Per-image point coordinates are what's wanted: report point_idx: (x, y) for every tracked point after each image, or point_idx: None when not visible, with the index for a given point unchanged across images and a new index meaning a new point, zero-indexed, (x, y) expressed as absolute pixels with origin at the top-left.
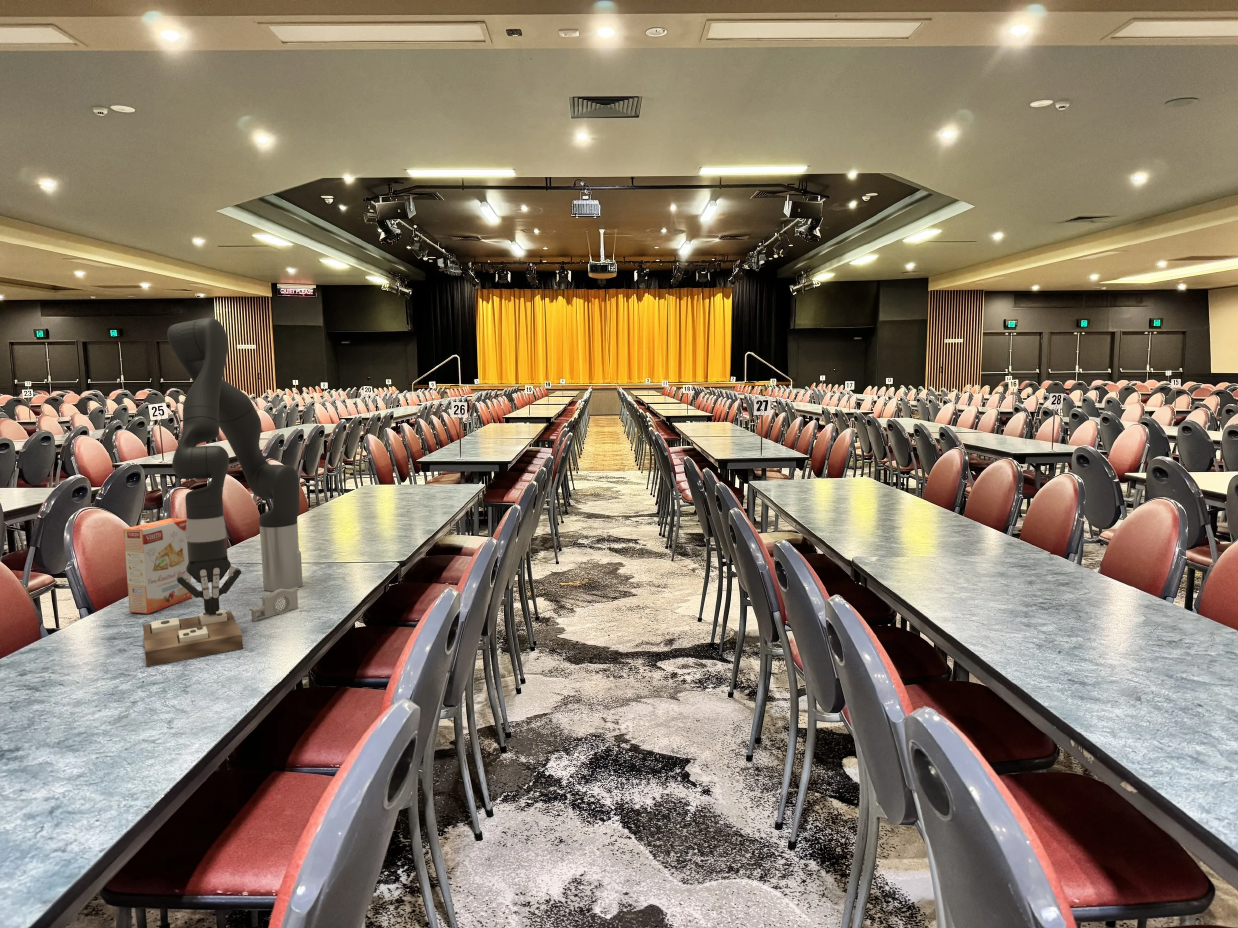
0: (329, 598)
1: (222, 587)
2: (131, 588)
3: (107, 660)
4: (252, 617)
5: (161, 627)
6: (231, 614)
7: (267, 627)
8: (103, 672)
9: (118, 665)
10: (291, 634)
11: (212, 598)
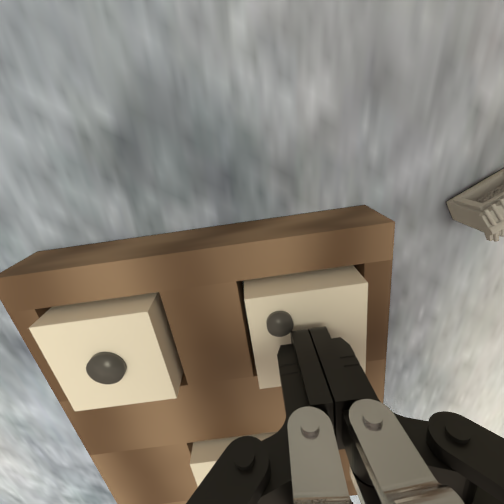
0: None
1: (455, 486)
2: None
3: (13, 409)
4: (457, 211)
5: (111, 403)
6: (385, 286)
7: (465, 312)
8: (49, 472)
9: (66, 447)
10: (498, 398)
11: (341, 444)
